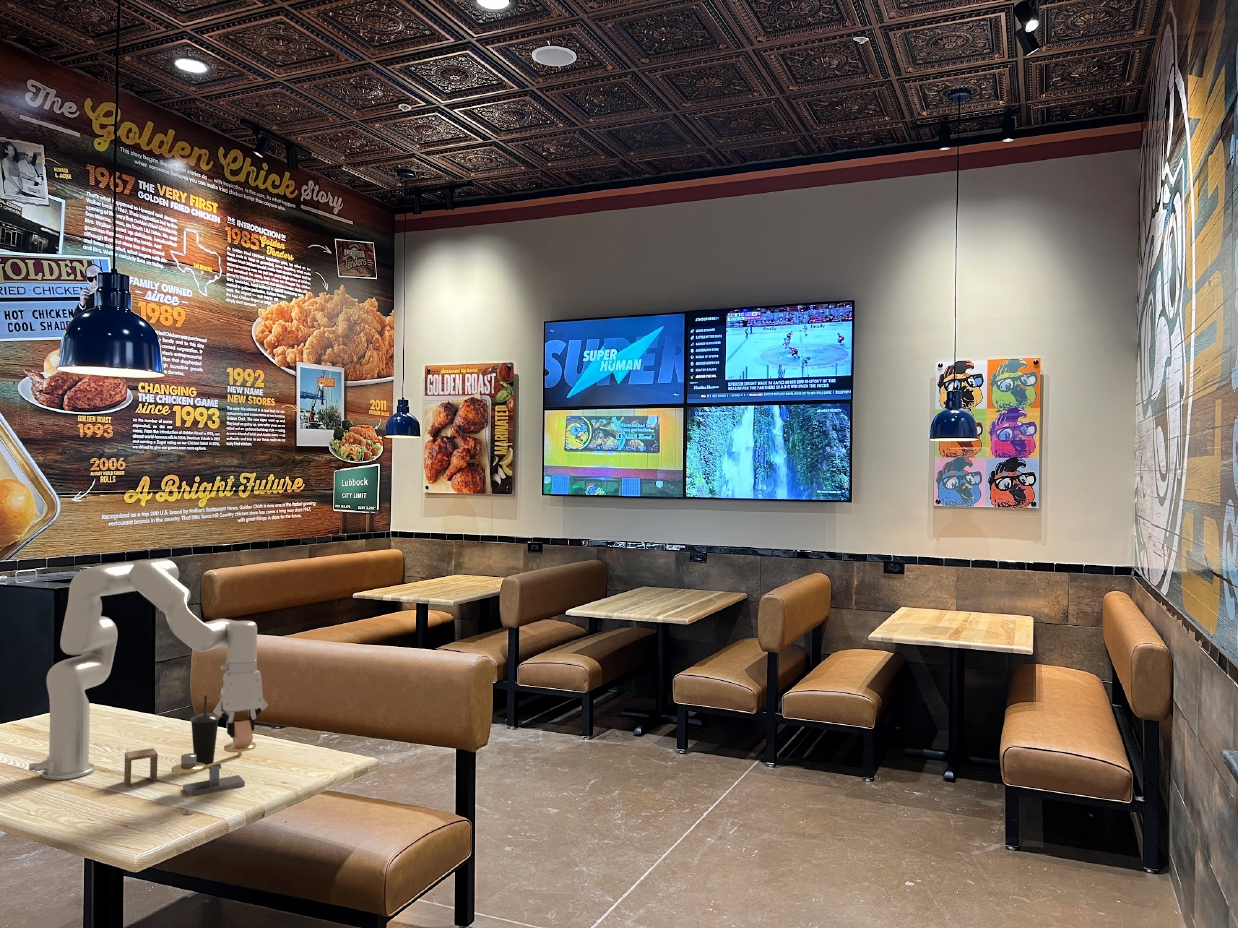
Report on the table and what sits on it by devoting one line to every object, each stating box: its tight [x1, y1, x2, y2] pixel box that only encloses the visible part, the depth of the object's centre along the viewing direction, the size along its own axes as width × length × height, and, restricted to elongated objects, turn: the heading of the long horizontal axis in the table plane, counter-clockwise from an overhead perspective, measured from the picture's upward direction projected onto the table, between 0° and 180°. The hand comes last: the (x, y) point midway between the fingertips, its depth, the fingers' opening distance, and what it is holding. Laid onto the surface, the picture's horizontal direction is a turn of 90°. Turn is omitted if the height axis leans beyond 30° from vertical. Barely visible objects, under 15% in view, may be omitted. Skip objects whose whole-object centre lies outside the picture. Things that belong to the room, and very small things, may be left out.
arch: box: [123, 747, 158, 788], centre depth 246 cm, size 7×6×8 cm
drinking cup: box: [190, 695, 221, 765], centre depth 260 cm, size 8×8×20 cm
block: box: [232, 719, 254, 748], centre depth 245 cm, size 4×4×6 cm
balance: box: [171, 741, 257, 797], centre depth 242 cm, size 21×8×10 cm, turn 127°
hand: (240, 734), depth 246 cm, fingers closed on block, 4 cm apart
